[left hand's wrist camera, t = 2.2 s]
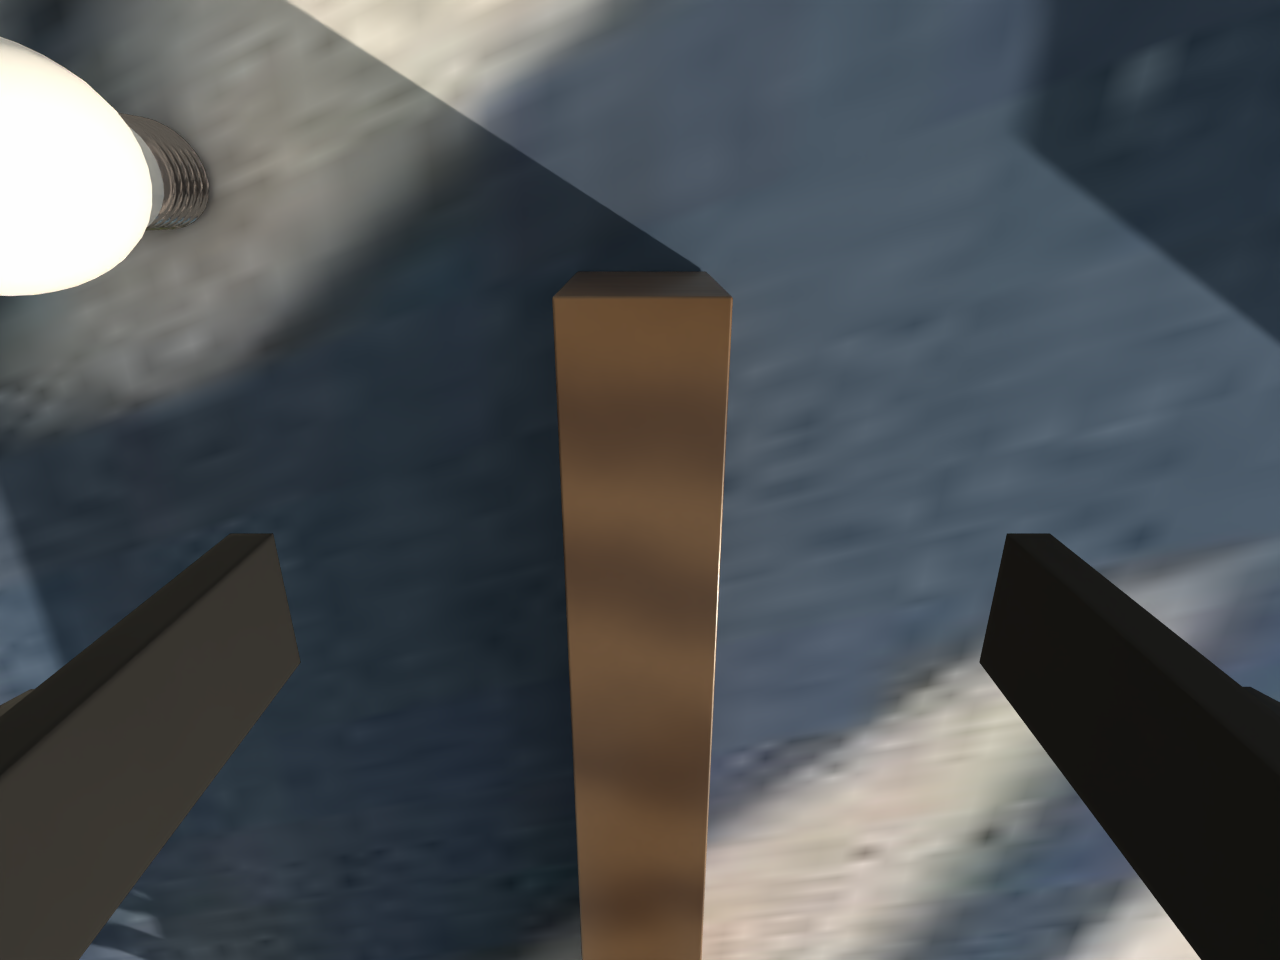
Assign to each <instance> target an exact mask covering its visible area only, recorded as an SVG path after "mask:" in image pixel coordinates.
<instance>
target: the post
mask: <svg viewBox="0 0 1280 960" xmlns="http://www.w3.org/2000/svg"><path fill="white" fill-rule="evenodd" d="M552 302H553V325H554V347H555V369H556V392H557V414H558V436H559V459H560V481H561V503H562V525H563V548H564V570H565V592H566V615H567V637H568V659H569V681H570V704H571V726H572V748H573V771H574V793H575V815H576V837H577V860H578V882H579V904H580V927H581V949H582V960H701V956H702V935H703V914H704V893H705V872H706V851H707V830H708V809H709V788H710V766H711V745H712V724H713V703H714V682H715V661H716V640H717V619H718V598H719V577H720V555H721V534H722V513H723V492H724V471H725V450H726V429H727V408H728V387H729V366H730V344H731V323H732V302H733V298H732V296H731V295H729V294H728V293H727V292H726V291H725V290H724V289H723V288H722V287H721V286H720V285H719V284H718V283H717V282H716V281H715V280H714V279H713V278H712V277H711V276H710V275H709V274H708V273H707V272H577V273H576V274H575V275H574V276H573V277H572V278H571V279H570V280H569V281H568V282H567V283H566V284H565V285H564V286H563V287H562V288H561V289H560V290H559V291H558V292H557V293H556V294H555V295H554V296H553V298H552Z"/></svg>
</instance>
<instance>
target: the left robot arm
mask: <svg viewBox="0 0 1280 960" xmlns="http://www.w3.org/2000/svg"><path fill="white" fill-rule="evenodd" d="M299 664H300V657H299V653H298V648H297V643H296V639H295V634H294V629H293V625H292V620H291V615H290V611H289V606H288V601H287V597H286V592H285V587H284V582H283V578H282V573H281V568H280V564H279V559H278V554H277V550H276V545H275V540H274V536H273V534H229V535H228V536H227V537H225V538H224V539H223V540H222V541H220V542H219V543H218V544H217V545H215V546H214V547H213V548H212V549H210V550H209V551H208V552H206V553H205V554H204V555H203V556H201V557H200V558H199V559H198V560H196V561H195V562H194V563H193V564H191V565H190V566H189V567H188V568H186V569H185V570H184V571H183V572H181V573H180V574H179V575H178V576H176V577H175V578H174V579H173V580H171V581H170V582H169V583H168V584H166V585H165V586H164V587H163V588H161V589H160V590H159V591H158V592H156V593H155V594H154V595H152V596H151V597H150V598H149V599H147V600H146V601H145V602H144V603H142V604H141V605H140V606H139V607H137V608H136V609H135V610H134V611H132V612H131V613H130V614H129V615H127V616H126V617H125V618H124V619H122V620H121V621H120V622H119V623H117V624H116V625H115V626H114V627H112V628H111V629H110V630H109V631H107V632H106V633H105V634H104V635H102V636H101V637H100V638H98V639H97V640H96V641H95V642H93V643H92V644H91V645H90V646H88V647H87V648H86V649H85V650H83V651H82V652H81V653H80V654H78V655H77V656H76V657H75V658H73V659H72V660H71V661H70V662H68V663H67V664H66V665H65V666H63V667H62V668H61V669H60V670H58V671H57V672H56V673H55V674H53V675H52V676H51V677H50V678H48V679H47V680H46V681H44V682H43V683H42V684H41V685H39V686H38V687H37V688H36V689H30V690H28V691H27V692H25V693H23V694H21V695H19V696H17V697H15V698H13V699H11V700H10V701H8V702H6V703H4V704H2V705H0V960H79V959H80V957H81V956H82V955H83V953H84V952H85V951H86V949H87V948H88V947H89V945H90V944H91V943H92V941H93V940H94V939H95V937H96V936H97V935H98V933H99V932H100V930H101V929H102V928H103V926H104V925H105V924H106V922H107V921H108V920H109V918H110V917H111V916H112V914H113V913H114V912H115V910H116V909H117V908H118V906H119V905H120V904H121V902H122V901H123V900H124V898H125V897H126V896H127V894H128V893H129V892H130V890H131V889H132V888H133V886H134V885H135V884H136V882H137V881H138V880H139V878H140V877H141V876H142V874H143V873H144V872H145V870H146V869H147V867H148V866H149V865H150V863H151V862H152V861H153V859H154V858H155V857H156V855H157V854H158V853H159V851H160V850H161V849H162V847H163V846H164V845H165V843H166V842H167V841H168V839H169V838H170V837H171V835H172V834H173V833H174V831H175V830H176V829H177V827H178V826H179V825H180V823H181V822H182V821H183V819H184V818H185V817H186V815H187V814H188V813H189V811H190V810H191V809H192V807H193V806H194V804H195V803H196V802H197V800H198V799H199V798H200V796H201V795H202V794H203V792H204V791H205V790H206V788H207V787H208V786H209V784H210V783H211V782H212V780H213V779H214V778H215V776H216V775H217V774H218V772H219V771H220V770H221V768H222V767H223V766H224V764H225V763H226V762H227V760H228V759H229V758H230V756H231V755H232V754H233V752H234V751H235V750H236V748H237V747H238V746H239V744H240V743H241V741H242V740H243V739H244V737H245V736H246V735H247V733H248V732H249V731H250V729H251V728H252V727H253V725H254V724H255V723H256V721H257V720H258V719H259V717H260V716H261V715H262V713H263V712H264V711H265V709H266V708H267V707H268V705H269V704H270V703H271V701H272V700H273V699H274V697H275V696H276V695H277V693H278V692H279V691H280V689H281V688H282V687H283V685H284V684H285V683H286V681H287V680H288V678H289V677H290V676H291V674H292V673H293V672H294V670H295V669H296V668H297V666H298V665H299ZM980 664H981V665H982V666H983V668H984V669H985V670H986V672H987V673H988V674H989V676H990V677H991V678H992V680H993V681H994V683H995V684H996V685H997V687H998V688H999V689H1000V691H1001V692H1002V693H1003V695H1004V696H1005V697H1006V699H1007V700H1008V701H1009V703H1010V704H1011V705H1012V707H1013V708H1014V709H1015V711H1016V712H1017V713H1018V715H1019V716H1020V717H1021V719H1022V720H1023V721H1024V723H1025V724H1026V725H1027V727H1028V728H1029V729H1030V731H1031V732H1032V733H1033V735H1034V736H1035V737H1036V739H1037V740H1038V741H1039V743H1040V744H1041V746H1042V747H1043V748H1044V750H1045V751H1046V752H1047V754H1048V755H1049V756H1050V758H1051V759H1052V760H1053V762H1054V763H1055V764H1056V766H1057V767H1058V768H1059V770H1060V771H1061V772H1062V774H1063V775H1064V776H1065V778H1066V779H1067V780H1068V782H1069V783H1070V784H1071V786H1072V787H1073V788H1074V790H1075V791H1076V792H1077V794H1078V795H1079V796H1080V798H1081V799H1082V800H1083V802H1084V803H1085V804H1086V806H1087V807H1088V809H1089V810H1090V811H1091V813H1092V814H1093V815H1094V817H1095V818H1096V819H1097V821H1098V822H1099V823H1100V825H1101V826H1102V827H1103V829H1104V830H1105V831H1106V833H1107V834H1108V835H1109V837H1110V838H1111V839H1112V841H1113V842H1114V843H1115V845H1116V846H1117V847H1118V849H1119V850H1120V851H1121V853H1122V854H1123V855H1124V857H1125V858H1126V859H1127V861H1128V862H1129V863H1130V865H1131V866H1132V867H1133V869H1134V870H1135V872H1136V873H1137V874H1138V876H1139V877H1140V878H1141V880H1142V881H1143V882H1144V884H1145V885H1146V886H1147V888H1148V889H1149V890H1150V892H1151V893H1152V894H1153V896H1154V897H1155V898H1156V900H1157V901H1158V902H1159V904H1160V905H1161V906H1162V908H1163V909H1164V910H1165V912H1166V913H1167V914H1168V916H1169V917H1170V918H1171V920H1172V921H1173V922H1174V924H1175V925H1176V926H1177V928H1178V929H1179V930H1180V932H1181V933H1182V935H1183V936H1184V937H1185V939H1186V940H1187V941H1188V943H1189V944H1190V945H1191V947H1192V948H1193V949H1194V951H1195V952H1196V953H1197V955H1198V956H1199V957H1200V959H1201V960H1280V702H1278V701H1276V700H1274V699H1272V698H1270V697H1269V696H1267V695H1265V694H1263V693H1261V692H1259V691H1257V690H1255V689H1253V688H1252V687H1242V686H1241V685H1239V684H1238V683H1237V682H1236V681H1234V680H1233V679H1232V678H1230V677H1229V676H1228V675H1227V674H1225V673H1224V672H1223V671H1222V670H1220V669H1219V668H1218V667H1217V666H1215V665H1214V664H1213V663H1212V662H1210V661H1209V660H1208V659H1207V658H1205V657H1204V656H1203V655H1202V654H1200V653H1199V652H1198V651H1197V650H1195V649H1194V648H1193V647H1192V646H1190V645H1189V644H1188V643H1187V642H1185V641H1184V640H1183V639H1182V638H1180V637H1179V636H1178V635H1176V634H1175V633H1174V632H1173V631H1171V630H1170V629H1169V628H1168V627H1166V626H1165V625H1164V624H1163V623H1161V622H1160V621H1159V620H1158V619H1156V618H1155V617H1154V616H1153V615H1151V614H1150V613H1149V612H1148V611H1146V610H1145V609H1144V608H1143V607H1141V606H1140V605H1139V604H1138V603H1136V602H1135V601H1134V600H1133V599H1131V598H1130V597H1129V596H1128V595H1126V594H1125V593H1124V592H1122V591H1121V590H1120V589H1119V588H1117V587H1116V586H1115V585H1114V584H1112V583H1111V582H1110V581H1109V580H1107V579H1106V578H1105V577H1104V576H1102V575H1101V574H1100V573H1099V572H1097V571H1096V570H1095V569H1094V568H1092V567H1091V566H1090V565H1089V564H1087V563H1086V562H1085V561H1084V560H1082V559H1081V558H1080V557H1079V556H1077V555H1076V554H1075V553H1074V552H1072V551H1071V550H1070V549H1068V548H1067V547H1066V546H1065V545H1063V544H1062V543H1061V542H1060V541H1058V540H1057V539H1056V538H1055V537H1053V536H1052V535H1051V534H1007V536H1006V540H1005V545H1004V550H1003V554H1002V559H1001V564H1000V568H999V573H998V578H997V582H996V587H995V592H994V597H993V601H992V606H991V611H990V615H989V620H988V625H987V629H986V634H985V639H984V643H983V648H982V653H981V657H980Z"/></svg>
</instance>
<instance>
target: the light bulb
mask: <svg viewBox="0 0 1280 960" xmlns="http://www.w3.org/2000/svg"><path fill="white" fill-rule="evenodd" d="M208 197H209V184H208V179H207V175H206V171H205V169H204V166H203V164H202V162H201V160H200V159H199V157H198V155H197V154H196V152H195V151H194V150H193V149H192V147H191V146H190V145H189V144H188V143H187V142H186V141H185V140H184V139H183V138H182V137H181V136H180V135H178V134H177V133H176V132H175V131H173V130H172V129H170V128H169V127H167V126H165V125H163V124H161V123H159V122H157V121H154V120H151V119H148V118H144V117H139V116H133V115H128V114H122V113H117V111H116V110H115V109H114V108H113V107H112V106H111V105H109V104H108V103H107V102H106V101H105V100H104V99H103V98H102V97H101V96H100V95H99V94H98V93H97V92H96V91H95V90H94V89H92V88H91V87H90V86H89V85H88V84H87V83H86V82H85V81H83V80H82V79H80V78H79V77H78V76H76V75H75V74H73V73H72V72H70V71H69V70H67V69H66V68H64V67H63V66H61V65H59V64H58V63H56V62H54V61H53V60H51V59H49V58H48V57H46V56H44V55H42V54H40V53H38V52H36V51H34V50H32V49H30V48H27V47H25V46H23V45H21V44H19V43H16V42H14V41H11V40H8V39H5V38H3V37H0V296H20V295H37V294H43V293H49V292H55V291H60V290H63V289H67V288H71V287H75V286H78V285H81V284H83V283H86V282H88V281H90V280H93V279H95V278H97V277H99V276H100V275H102V274H104V273H106V272H108V271H109V270H111V269H112V268H114V267H115V266H116V265H117V264H119V263H120V262H121V261H123V260H124V259H125V258H126V257H127V255H128V254H129V253H130V252H131V251H132V249H133V248H134V247H135V246H136V244H137V243H138V242H139V241H140V239H141V238H142V236H143V234H144V232H145V230H163V229H178V228H181V227H185V226H187V225H189V224H191V223H193V222H194V221H196V220H197V219H198V218H199V217H200V215H201V214H202V213H203V211H204V210H205V207H206V204H207V201H208Z"/></svg>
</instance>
